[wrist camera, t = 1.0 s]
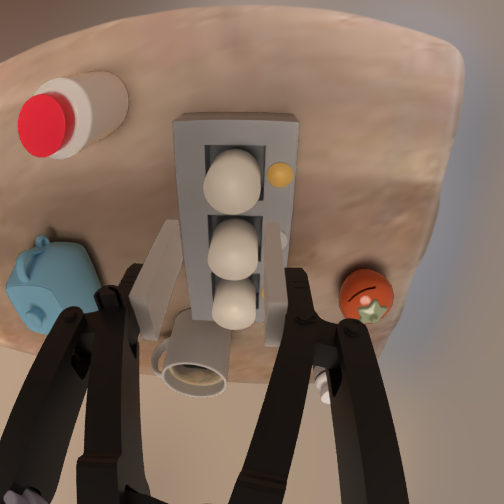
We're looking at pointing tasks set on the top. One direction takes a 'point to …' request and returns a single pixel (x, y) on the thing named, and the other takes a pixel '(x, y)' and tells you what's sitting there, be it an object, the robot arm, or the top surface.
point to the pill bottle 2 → (321, 383)
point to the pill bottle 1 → (72, 114)
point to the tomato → (365, 296)
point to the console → (207, 218)
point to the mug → (194, 357)
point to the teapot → (52, 282)
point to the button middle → (233, 249)
